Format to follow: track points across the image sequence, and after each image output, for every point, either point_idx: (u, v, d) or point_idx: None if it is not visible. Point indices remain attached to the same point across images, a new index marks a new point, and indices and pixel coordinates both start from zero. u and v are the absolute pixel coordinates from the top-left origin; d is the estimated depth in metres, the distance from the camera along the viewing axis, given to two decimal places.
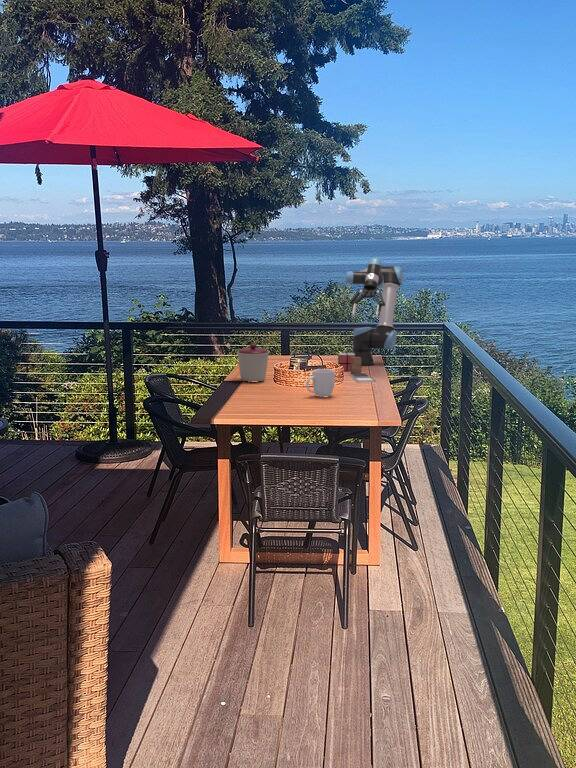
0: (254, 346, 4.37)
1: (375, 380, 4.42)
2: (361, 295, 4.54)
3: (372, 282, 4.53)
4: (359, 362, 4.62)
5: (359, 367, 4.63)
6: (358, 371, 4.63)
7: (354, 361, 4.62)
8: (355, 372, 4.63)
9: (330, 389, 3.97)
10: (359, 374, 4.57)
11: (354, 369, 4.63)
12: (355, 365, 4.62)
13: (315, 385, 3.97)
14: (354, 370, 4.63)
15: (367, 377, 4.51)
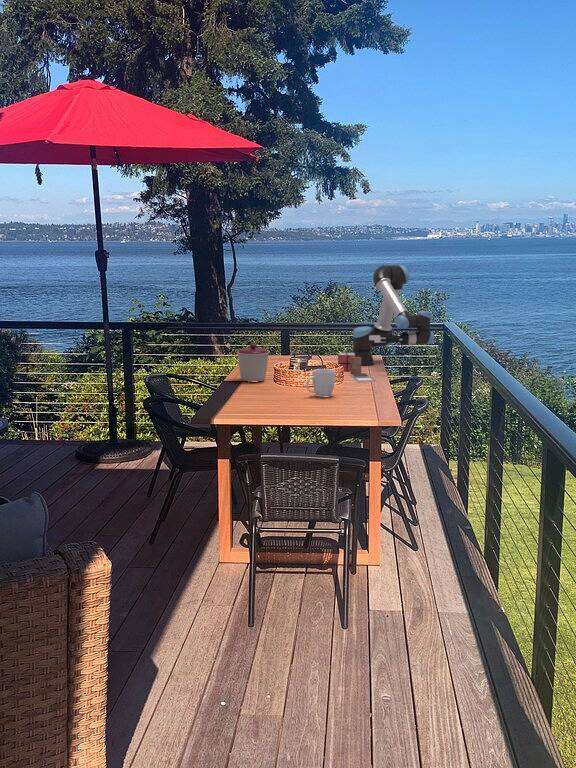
0: (254, 346, 4.37)
1: (375, 380, 4.42)
2: None
3: None
4: (359, 362, 4.62)
5: (359, 367, 4.63)
6: (358, 371, 4.63)
7: (354, 361, 4.62)
8: (355, 372, 4.63)
9: (330, 389, 3.97)
10: (359, 374, 4.57)
11: (354, 369, 4.63)
12: (355, 365, 4.62)
13: (315, 385, 3.97)
14: (354, 370, 4.63)
15: (367, 377, 4.51)
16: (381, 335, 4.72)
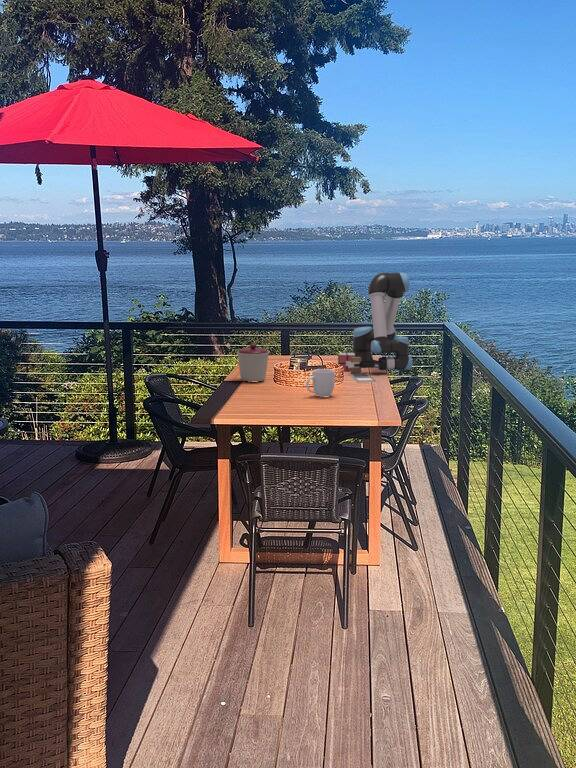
0: (254, 346, 4.37)
1: (375, 380, 4.42)
2: None
3: None
4: (359, 362, 4.62)
5: (359, 367, 4.63)
6: (358, 371, 4.63)
7: (354, 361, 4.62)
8: (355, 372, 4.63)
9: (330, 389, 3.97)
10: (359, 374, 4.57)
11: (354, 369, 4.63)
12: None
13: (315, 385, 3.97)
14: (354, 370, 4.63)
15: (367, 377, 4.51)
16: None
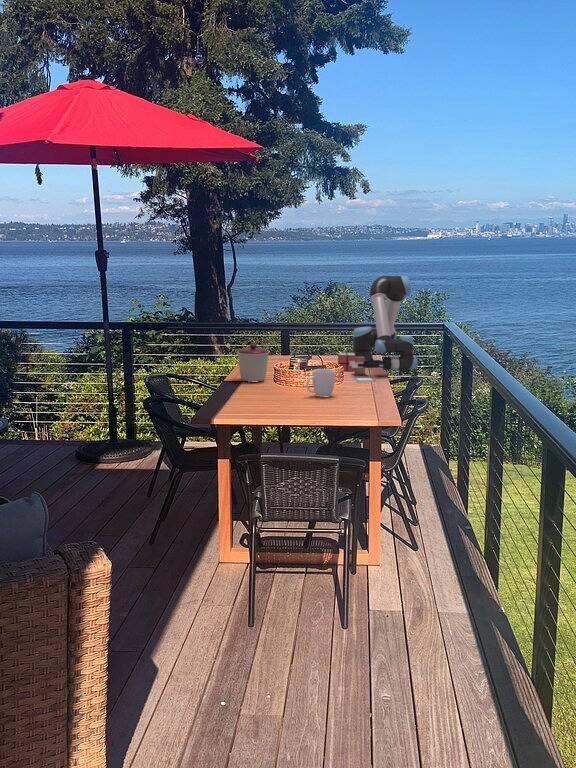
0: (254, 346, 4.37)
1: (375, 380, 4.42)
2: None
3: None
4: (363, 362, 4.53)
5: (363, 367, 4.54)
6: (362, 371, 4.54)
7: (358, 361, 4.53)
8: (359, 372, 4.54)
9: (330, 389, 3.97)
10: None
11: (358, 369, 4.54)
12: None
13: (315, 385, 3.97)
14: (358, 370, 4.54)
15: (367, 377, 4.51)
16: None
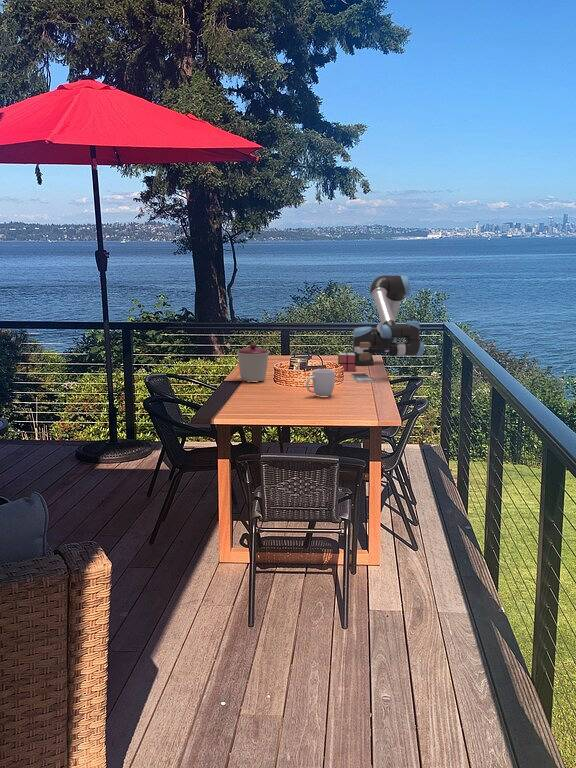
0: (254, 346, 4.37)
1: (375, 380, 4.42)
2: None
3: None
4: None
5: (368, 353, 4.41)
6: (367, 357, 4.42)
7: (363, 346, 4.40)
8: (364, 358, 4.42)
9: (330, 389, 3.97)
10: (359, 374, 4.57)
11: (363, 355, 4.41)
12: None
13: (315, 385, 3.97)
14: (363, 356, 4.41)
15: (367, 377, 4.51)
16: None
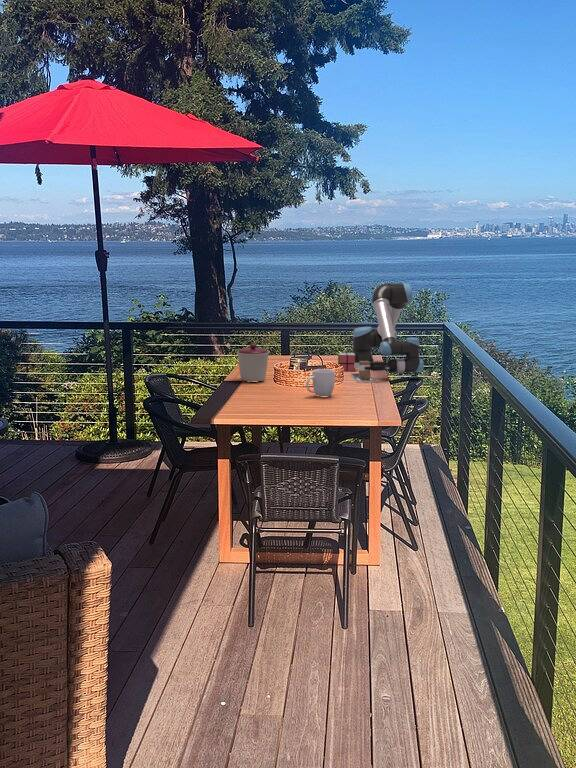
0: (254, 346, 4.37)
1: (375, 380, 4.42)
2: None
3: None
4: None
5: (368, 372, 4.43)
6: (367, 376, 4.44)
7: None
8: (364, 377, 4.44)
9: (330, 389, 3.97)
10: None
11: (363, 374, 4.43)
12: None
13: (315, 385, 3.97)
14: (363, 375, 4.43)
15: None
16: None
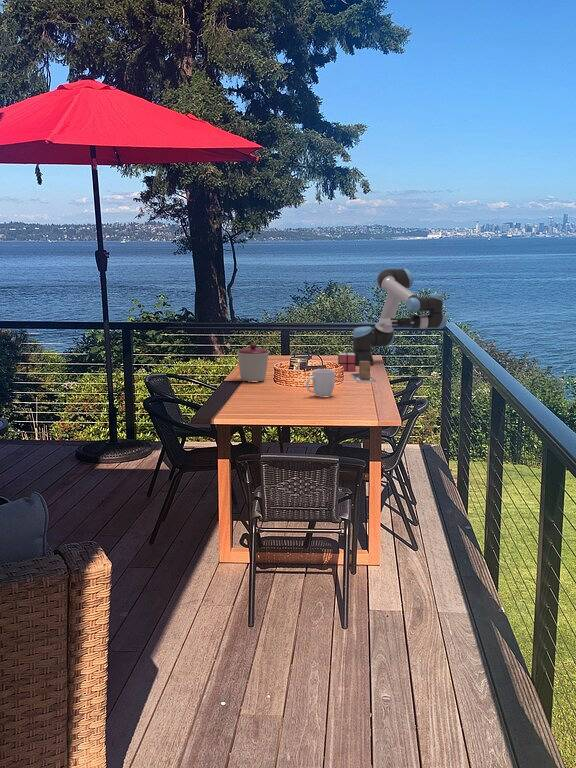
0: (254, 346, 4.37)
1: (375, 380, 4.42)
2: None
3: None
4: (368, 366, 4.43)
5: (368, 372, 4.43)
6: (367, 376, 4.44)
7: (363, 365, 4.42)
8: (364, 377, 4.44)
9: (330, 389, 3.97)
10: None
11: (363, 374, 4.43)
12: (364, 369, 4.43)
13: (315, 385, 3.97)
14: (363, 375, 4.43)
15: None
16: (391, 318, 4.58)
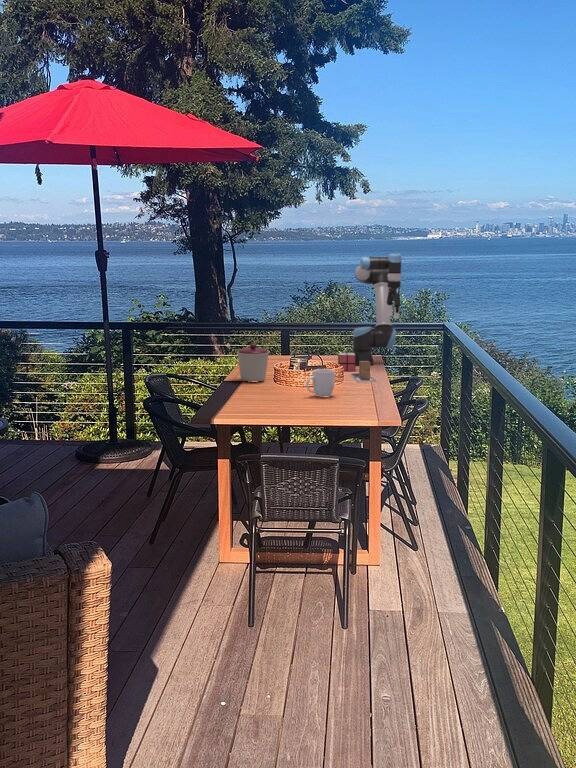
0: (254, 346, 4.37)
1: (375, 380, 4.42)
2: None
3: (389, 283, 4.63)
4: (368, 366, 4.43)
5: (368, 372, 4.43)
6: (367, 376, 4.44)
7: (363, 365, 4.42)
8: (364, 377, 4.44)
9: (330, 389, 3.97)
10: None
11: (363, 374, 4.43)
12: (364, 369, 4.43)
13: (315, 385, 3.97)
14: (363, 375, 4.43)
15: None
16: None
